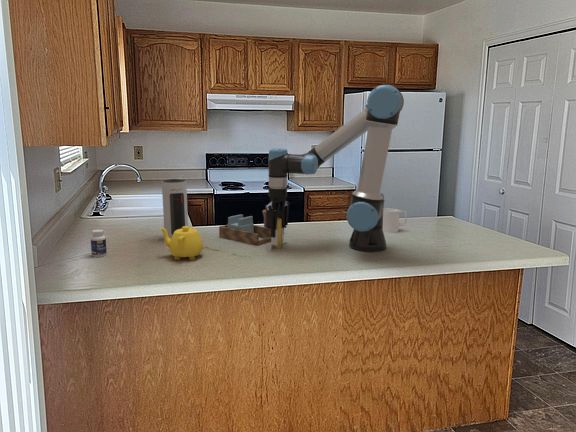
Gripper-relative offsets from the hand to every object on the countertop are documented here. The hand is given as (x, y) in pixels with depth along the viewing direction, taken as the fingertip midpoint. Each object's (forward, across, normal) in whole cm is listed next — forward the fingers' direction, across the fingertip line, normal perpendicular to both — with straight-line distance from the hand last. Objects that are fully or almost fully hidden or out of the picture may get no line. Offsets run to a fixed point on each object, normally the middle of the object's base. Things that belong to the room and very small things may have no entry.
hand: (277, 243), depth 200 cm
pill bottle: (+2, +53, -45) cm, 70 cm away
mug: (+2, -17, -18) cm, 25 cm away
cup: (+2, -59, +23) cm, 64 cm away
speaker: (+2, +18, -43) cm, 46 cm away
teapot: (+2, +34, -20) cm, 39 cm away
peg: (+2, 0, 0) cm, 2 cm away
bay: (+2, +1, -16) cm, 16 cm away
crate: (0, +1, -20) cm, 20 cm away
